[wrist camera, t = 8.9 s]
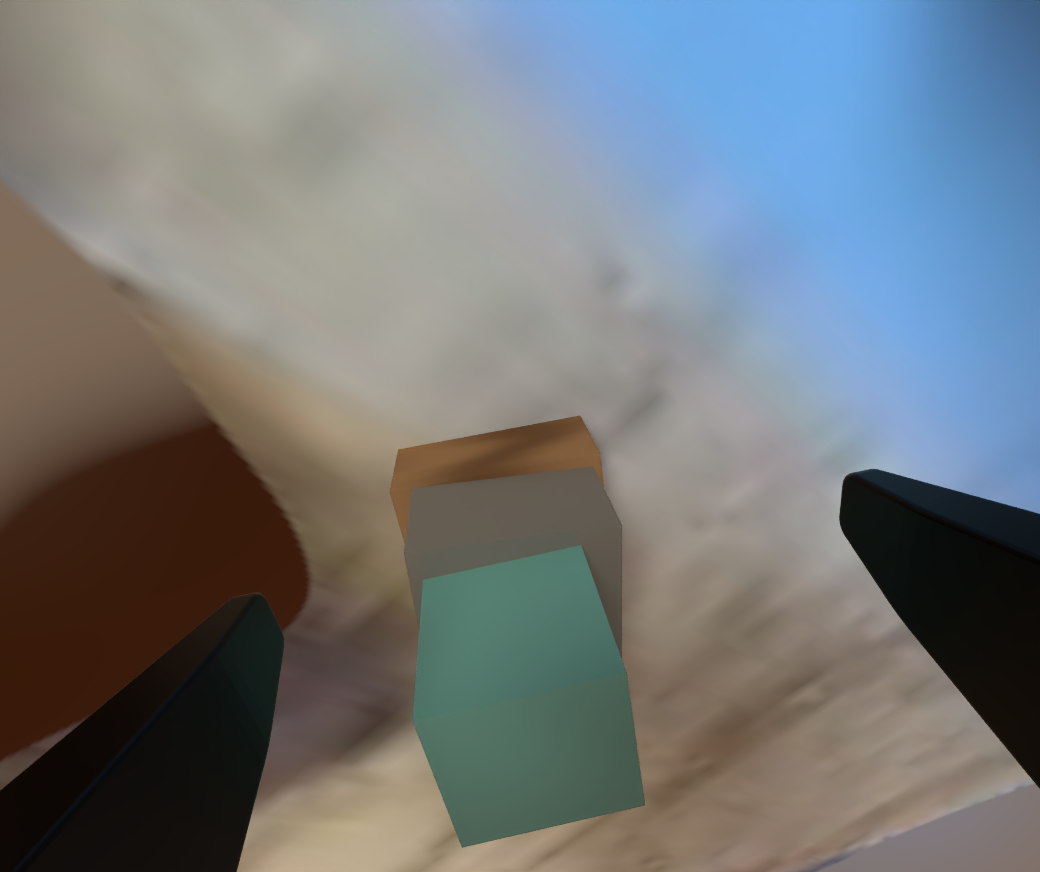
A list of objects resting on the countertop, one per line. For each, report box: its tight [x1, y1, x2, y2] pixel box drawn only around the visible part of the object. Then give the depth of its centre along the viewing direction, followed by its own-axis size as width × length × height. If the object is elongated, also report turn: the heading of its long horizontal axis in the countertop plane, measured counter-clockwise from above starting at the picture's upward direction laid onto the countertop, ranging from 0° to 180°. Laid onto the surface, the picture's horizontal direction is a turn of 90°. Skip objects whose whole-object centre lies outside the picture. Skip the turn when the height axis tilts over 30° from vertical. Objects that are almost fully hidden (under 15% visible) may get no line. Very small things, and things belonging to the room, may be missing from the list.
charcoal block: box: [404, 466, 622, 659], centre depth 18 cm, size 6×6×4 cm
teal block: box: [413, 545, 645, 847], centre depth 15 cm, size 4×4×4 cm
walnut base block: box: [390, 416, 604, 542], centre depth 21 cm, size 7×7×4 cm
